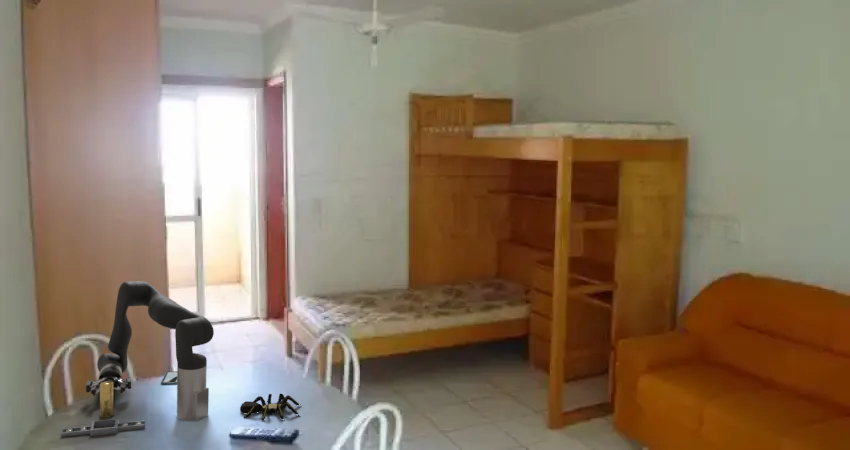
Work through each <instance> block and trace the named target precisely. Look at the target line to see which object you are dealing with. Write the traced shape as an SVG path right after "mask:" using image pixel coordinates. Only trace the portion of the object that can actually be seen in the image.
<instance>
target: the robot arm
mask: <svg viewBox="0 0 850 450" xmlns="http://www.w3.org/2000/svg"><path fill="white" fill-rule="evenodd" d="M140 306H141V307H143V306H145V307H147V313H148V316H149V318H150V319H152V321H154V322H155V323H156V324H158V325H160V326H162V327H165V328H168V329H174V330H175V331H174V335H175V356H176V361H177V363H176V364H177V365H176V366H177V368H176V369H177V370H176V371H177V384H176V418H177V419H178V420H181V421H195V422H197V421H198V420H200V419H204V418H205V417H208V416H209V401H210V400H209V398H210V397H209V387H207V363H208V362H207V361H208V359H207V357H206V356H205V355H203V354H200V353H195V352H193V347H198V346H202V345H205V344H208V343H210V342H211V341H212V340H213V338H214V333H215V332H214V331H215V330H214V327H213V325H212V323H211V321H210V320H209V319H208V318H206V317H205V316H202V315H200V314H197V313H196V312H195V313H194V312H192V311H190V310H189V309H188V308H185V307H183V306H182V305H180V304H179V303H177V302H176V301H174V300H173V299H172V298H169V297H167V296H166V295H164V294H163V293H162V292H160V291H159V290H158V289H156V287H154V286H153V285H152V284H151V283H149V281H145V280H139V281H137V280H134V281H124V282H122V283H121V284H120V286H119V288H118V292H117V298H116V304H115V314H114V320H113V325H112V326H113V327H112V331H111V334H110V337H109V341H108V344H107V349H108V350H109V353H108V352H105V353H102V354H101V355H99V357H98V360H97V363H96V366H97V370H98V372H99V374H98V375H99V376H98V379H97V380H96V381H93V380H92V379H88V380H87V382H86V384H85V393H90V395H92V396H96V394H97V392H100V383H102V382H106V381H111V382H113V391H115V390H117V391H120V394H123V393H125V392H126V389H128V390H131V389H132V379H131V376H127V377H126V378H125V379H123V373H124V372H126V371H127V368H128V364H129V363H128V348H129V345H130V342H131V339H132V335H133V333H132V332H133V331H132V325H131V323H130V321H129V319H128V315H127V312H128V309H129V307H140Z"/></svg>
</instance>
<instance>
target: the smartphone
mask: <svg viewBox="0 0 850 450" xmlns="http://www.w3.org/2000/svg"><path fill="white" fill-rule="evenodd" d="M160 385H163V386H167V385H169V386H170V385H177V370H176V371H175V370H174V371H166V372H165V373H164V376H163V378H162V380H161V382H160Z"/></svg>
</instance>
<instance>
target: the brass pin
mask: <svg viewBox="0 0 850 450" xmlns="http://www.w3.org/2000/svg"><path fill="white" fill-rule="evenodd" d="M113 416H114V390H113V382H111V381H106V382H102V383H100V391H99V417H100V418H102V417H103V419H104V417H105V419H107V417H108V418H111V417H113Z"/></svg>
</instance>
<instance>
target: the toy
mask: <svg viewBox="0 0 850 450" xmlns="http://www.w3.org/2000/svg"><path fill="white" fill-rule="evenodd" d="M288 400H289V401H290V402H291V403H292V404H294V405H296V406H297V405H299V404H300V403H299V402H298V401H297V400H295V398H293V397H292V396H291V395H288V394H287V395H286V396H285V395H284V394H283V393H279V395H278V401H277V402H276V403H275V402H274V403H272V393H269V394H268V397H267V401H266V400H265V399H264V398H263V396H262V395H261V396H257V397H256V398H255V399H254V400H253V401H245V402H243V403H241V405H240V407H239V408H240V409H239V410H240V413H242V414H243V413H247V414H244V416H243V419H247V417H248V418H249V417H251V416H252V415H253V413H255V414H258V413H257V412H260V413H262V414H263V415H262V418H261V420H264V419H266V418H267V415H271V413H274V414H273V415H275V414H277V413H278V417H279V419H280V418H281V419H284V420H285V418H284V414H283V411H284V410H285V408H286V407H287V409H288V410H290V411H291V412H292V413H293V414H294V415H295V414H299V412H298V411H297V410H296V409H295V408H294V406H292V404H291V403H289V401H288ZM259 402H260V403H261V404H260V403H259ZM267 402H268V403H267ZM281 419H280V420H281ZM264 421H265V420H264Z"/></svg>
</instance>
